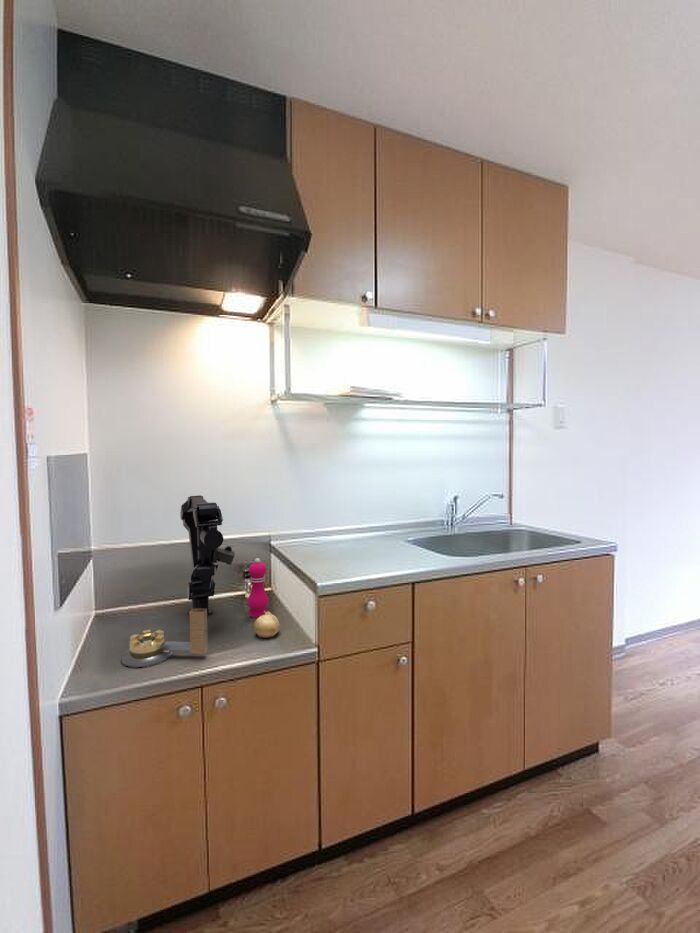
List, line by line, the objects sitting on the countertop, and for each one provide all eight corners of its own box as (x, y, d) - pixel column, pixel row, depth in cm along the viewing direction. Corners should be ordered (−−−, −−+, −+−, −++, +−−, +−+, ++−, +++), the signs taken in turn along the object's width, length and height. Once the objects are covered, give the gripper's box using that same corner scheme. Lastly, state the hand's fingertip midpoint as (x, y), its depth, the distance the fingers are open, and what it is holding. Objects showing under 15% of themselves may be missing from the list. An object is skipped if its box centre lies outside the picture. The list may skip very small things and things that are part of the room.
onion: (284, 635, 138) (284, 613, 137) (262, 643, 132) (262, 620, 132) (270, 627, 144) (270, 606, 143) (249, 634, 138) (248, 612, 138)
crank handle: (123, 657, 120) (121, 614, 119) (140, 642, 129) (139, 602, 128) (199, 659, 119) (198, 616, 118) (212, 644, 128) (211, 604, 127)
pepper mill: (263, 619, 150) (263, 561, 148) (244, 617, 151) (243, 560, 150) (271, 610, 157) (271, 556, 156) (253, 609, 158) (252, 555, 157)
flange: (116, 655, 125) (116, 649, 125) (163, 641, 134) (163, 636, 134) (129, 673, 115) (129, 667, 115) (179, 657, 124) (179, 651, 124)
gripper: (231, 548, 133) (231, 598, 134) (234, 534, 151) (235, 579, 152) (192, 549, 131) (193, 601, 132) (200, 536, 149) (202, 581, 150)
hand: (208, 589), depth 141 cm, fingers closed
